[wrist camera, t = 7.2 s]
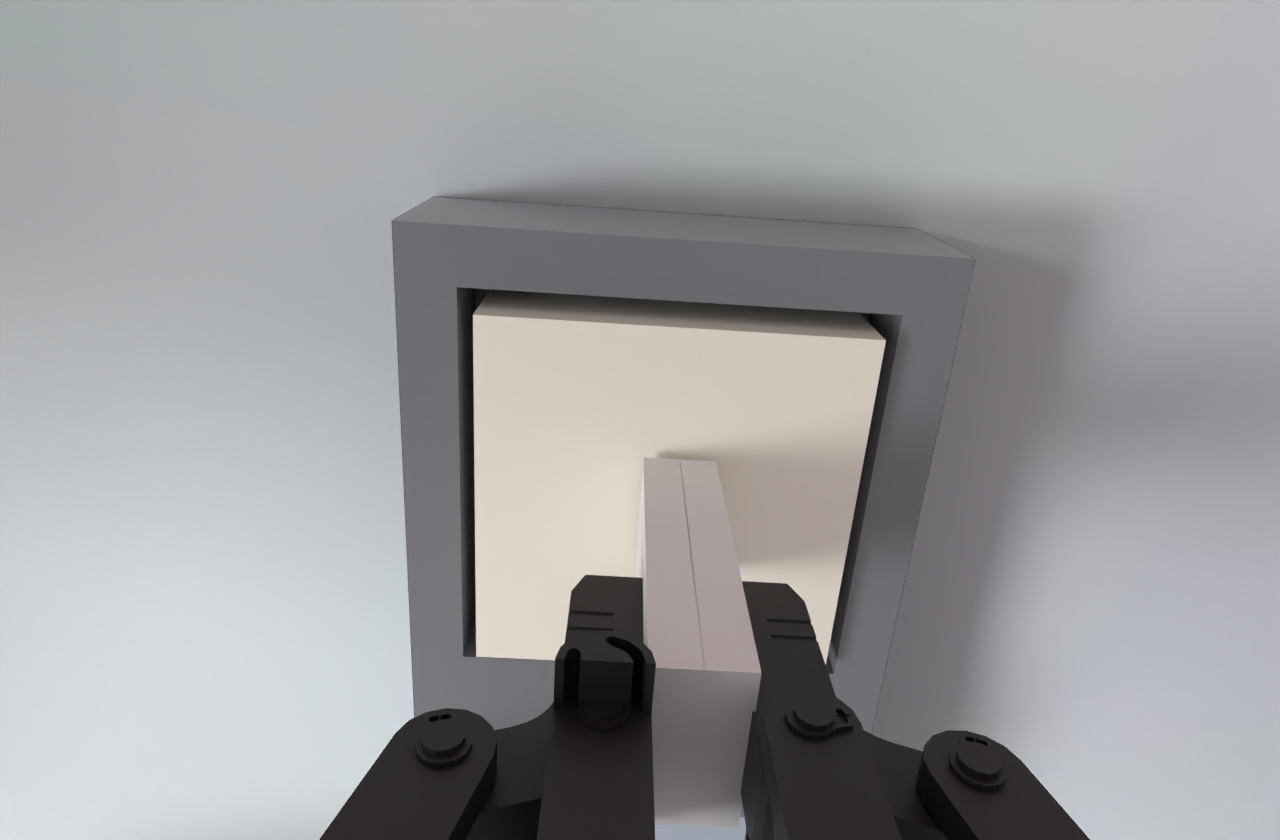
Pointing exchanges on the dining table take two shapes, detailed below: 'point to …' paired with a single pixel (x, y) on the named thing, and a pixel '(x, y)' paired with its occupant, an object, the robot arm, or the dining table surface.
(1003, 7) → the dining table surface
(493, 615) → the key cream
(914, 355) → the keypad
